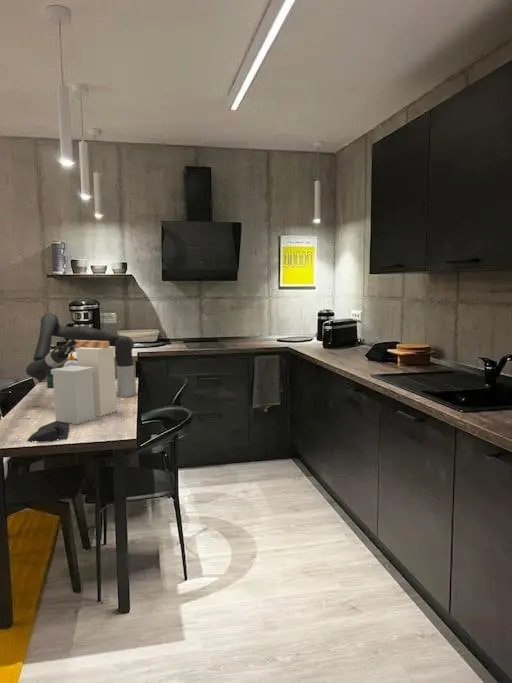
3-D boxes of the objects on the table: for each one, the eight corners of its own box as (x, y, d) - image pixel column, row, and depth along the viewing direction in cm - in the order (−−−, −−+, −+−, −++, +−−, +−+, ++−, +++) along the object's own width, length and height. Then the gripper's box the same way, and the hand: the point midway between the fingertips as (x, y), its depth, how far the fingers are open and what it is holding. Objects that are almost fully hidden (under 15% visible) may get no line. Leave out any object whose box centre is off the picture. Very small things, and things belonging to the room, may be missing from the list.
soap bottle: (65, 391, 300) (62, 353, 298) (65, 389, 307) (63, 351, 305) (81, 390, 303) (78, 352, 301) (81, 388, 310) (79, 351, 308)
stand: (78, 414, 243) (74, 348, 240) (96, 408, 254) (92, 345, 251) (101, 417, 237) (97, 349, 234) (118, 411, 248) (115, 346, 245)
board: (68, 346, 247) (68, 340, 247) (74, 345, 251) (74, 339, 250) (103, 348, 238) (103, 341, 237) (109, 347, 241) (109, 341, 241)
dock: (54, 421, 230) (50, 369, 227) (73, 415, 241) (71, 365, 238) (77, 424, 224) (74, 371, 221) (96, 418, 235) (93, 367, 232)
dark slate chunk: (75, 427, 222) (74, 416, 222) (66, 441, 201) (65, 430, 200) (38, 429, 219) (37, 418, 219) (25, 444, 198) (24, 432, 197)
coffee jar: (46, 388, 310) (44, 358, 309) (48, 386, 318) (46, 357, 316) (63, 387, 313) (61, 357, 311) (64, 385, 321) (62, 356, 319)
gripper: (42, 352, 248) (63, 335, 241) (64, 348, 261) (85, 332, 253) (48, 365, 247) (70, 349, 240) (70, 361, 260) (92, 345, 253)
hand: (78, 340), depth 247 cm, fingers closed on board, 4 cm apart
